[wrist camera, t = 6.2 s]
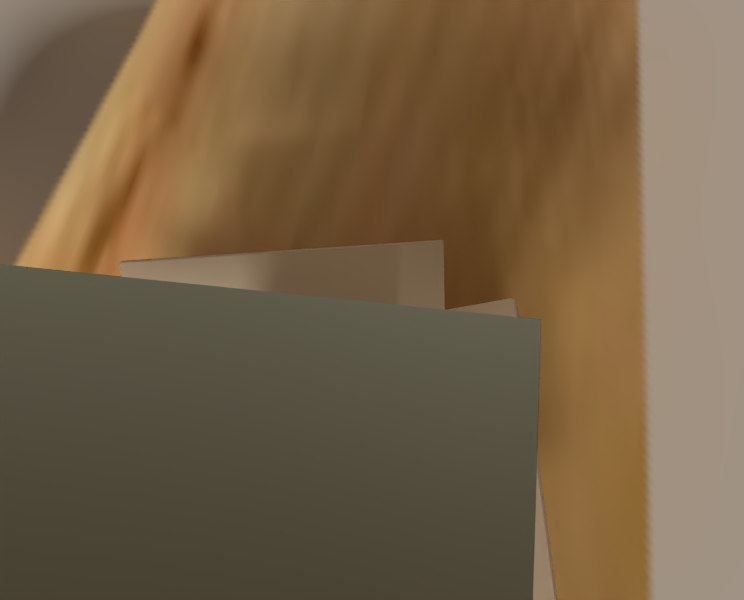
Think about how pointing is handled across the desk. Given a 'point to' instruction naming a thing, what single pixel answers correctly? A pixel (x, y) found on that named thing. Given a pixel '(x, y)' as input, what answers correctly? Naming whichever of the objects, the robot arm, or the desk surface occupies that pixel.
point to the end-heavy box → (260, 445)
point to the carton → (351, 282)
